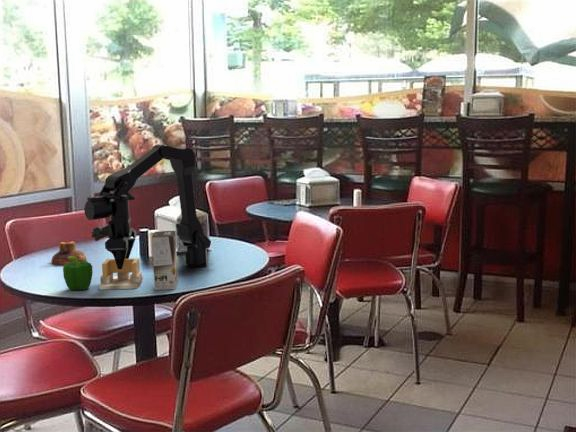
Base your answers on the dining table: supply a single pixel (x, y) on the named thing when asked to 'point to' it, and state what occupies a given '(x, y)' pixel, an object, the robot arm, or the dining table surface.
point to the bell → (67, 254)
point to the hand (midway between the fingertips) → (122, 265)
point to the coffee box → (164, 260)
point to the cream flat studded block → (121, 281)
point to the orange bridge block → (128, 267)
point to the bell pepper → (77, 274)
